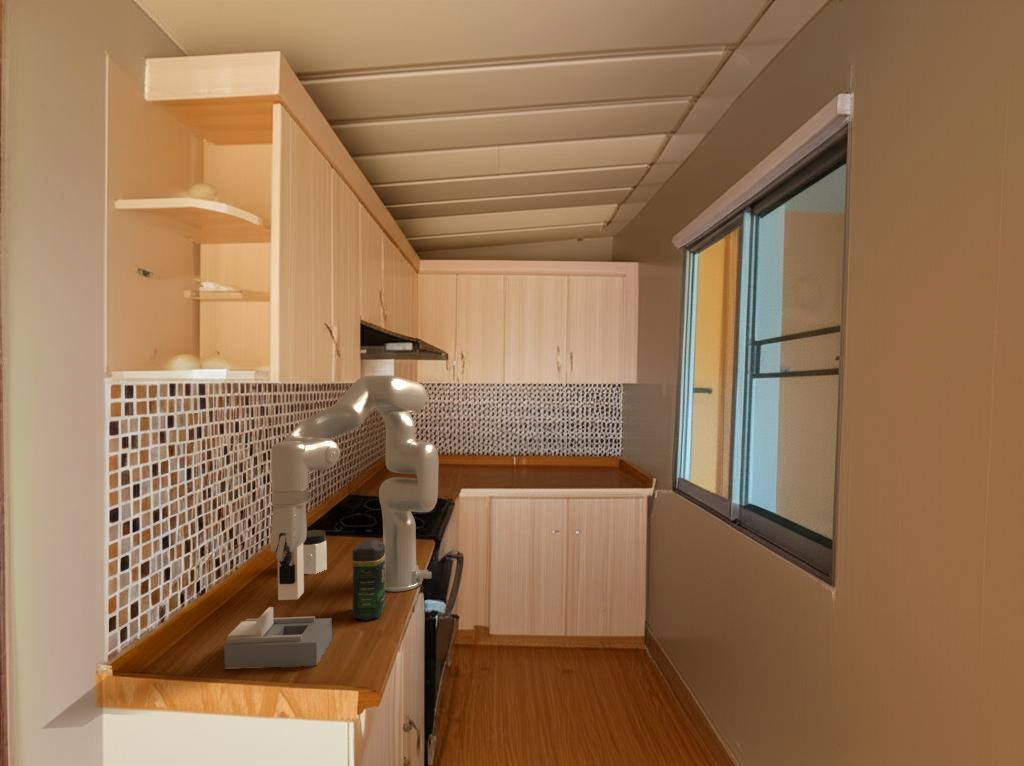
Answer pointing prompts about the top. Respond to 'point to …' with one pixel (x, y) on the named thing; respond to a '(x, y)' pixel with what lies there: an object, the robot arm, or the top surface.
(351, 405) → the robot arm
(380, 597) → the coffee jar
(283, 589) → the plug
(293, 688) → the top surface
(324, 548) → the jar
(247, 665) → the socket block
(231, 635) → the shutter
